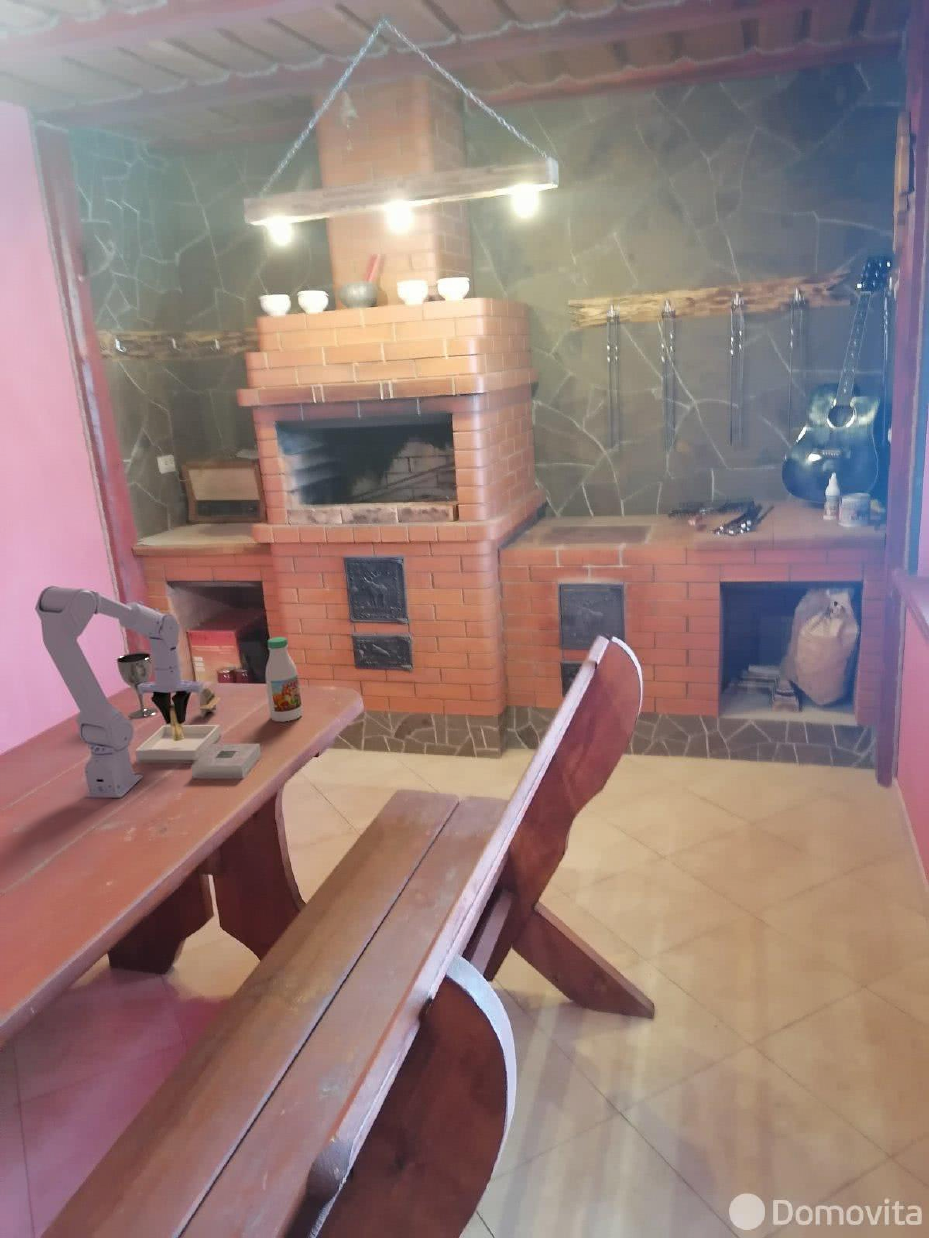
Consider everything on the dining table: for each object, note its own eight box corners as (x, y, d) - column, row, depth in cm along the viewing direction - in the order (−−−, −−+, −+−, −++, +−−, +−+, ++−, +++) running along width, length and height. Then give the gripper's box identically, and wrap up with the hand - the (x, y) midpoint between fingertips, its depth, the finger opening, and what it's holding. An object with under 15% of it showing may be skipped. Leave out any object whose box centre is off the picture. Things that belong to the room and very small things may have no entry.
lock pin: (182, 740, 203) (176, 707, 201) (171, 741, 203) (166, 708, 201) (185, 736, 206) (180, 703, 203) (175, 736, 206) (169, 704, 203)
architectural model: (222, 710, 229) (218, 682, 227) (213, 720, 222) (209, 692, 220) (209, 710, 229) (205, 683, 227) (199, 721, 223) (195, 693, 220)
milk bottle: (265, 721, 218) (254, 643, 213) (280, 709, 225) (270, 633, 220) (293, 723, 216) (283, 644, 210) (308, 711, 223) (298, 634, 217)
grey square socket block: (243, 778, 189) (241, 765, 188) (193, 778, 190) (191, 765, 189) (261, 756, 199) (259, 743, 198) (213, 756, 201) (212, 743, 200)
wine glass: (164, 706, 232) (155, 651, 228) (151, 718, 225) (141, 662, 221) (135, 707, 233) (125, 652, 229) (121, 719, 226) (110, 663, 221)
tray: (196, 762, 198) (194, 750, 197) (137, 762, 200) (134, 750, 199) (221, 736, 211) (219, 724, 210) (165, 737, 213) (163, 725, 212)
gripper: (204, 659, 202) (213, 715, 206) (144, 660, 204) (153, 715, 208) (191, 669, 196) (200, 727, 199) (129, 670, 198) (139, 727, 202)
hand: (176, 722), depth 203 cm, fingers closed on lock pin, 2 cm apart
